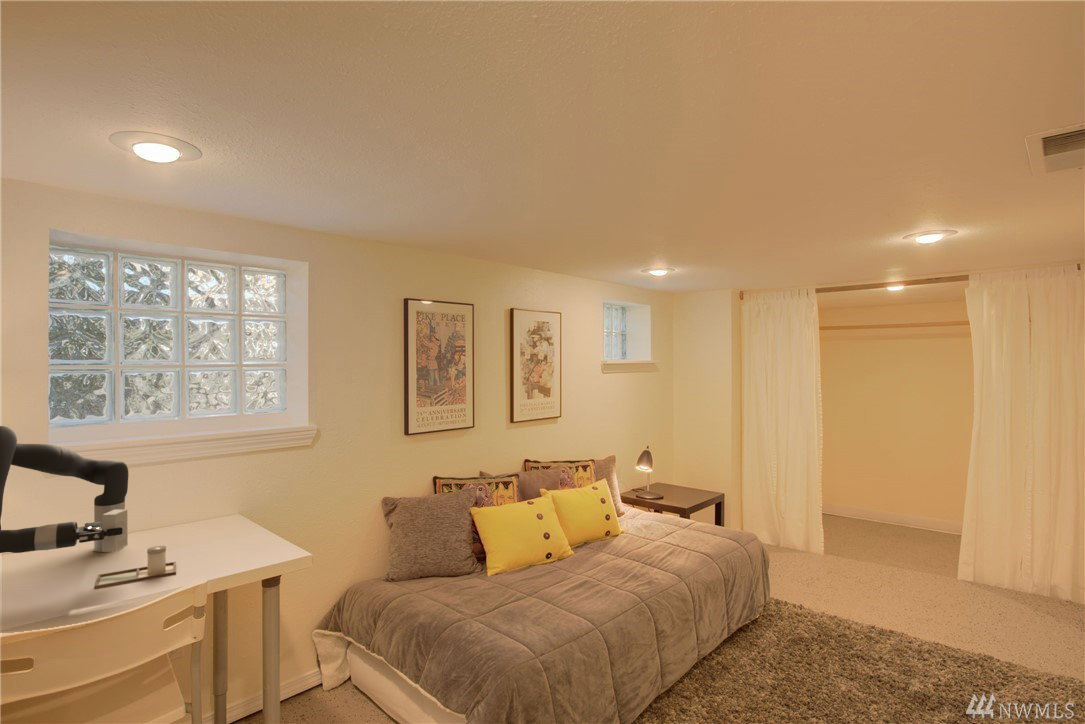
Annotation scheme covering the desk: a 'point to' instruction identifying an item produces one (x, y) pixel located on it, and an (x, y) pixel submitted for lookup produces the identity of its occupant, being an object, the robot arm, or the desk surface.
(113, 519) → the skincare box
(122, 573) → the organizer
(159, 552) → the cream jar
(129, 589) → the desk surface
